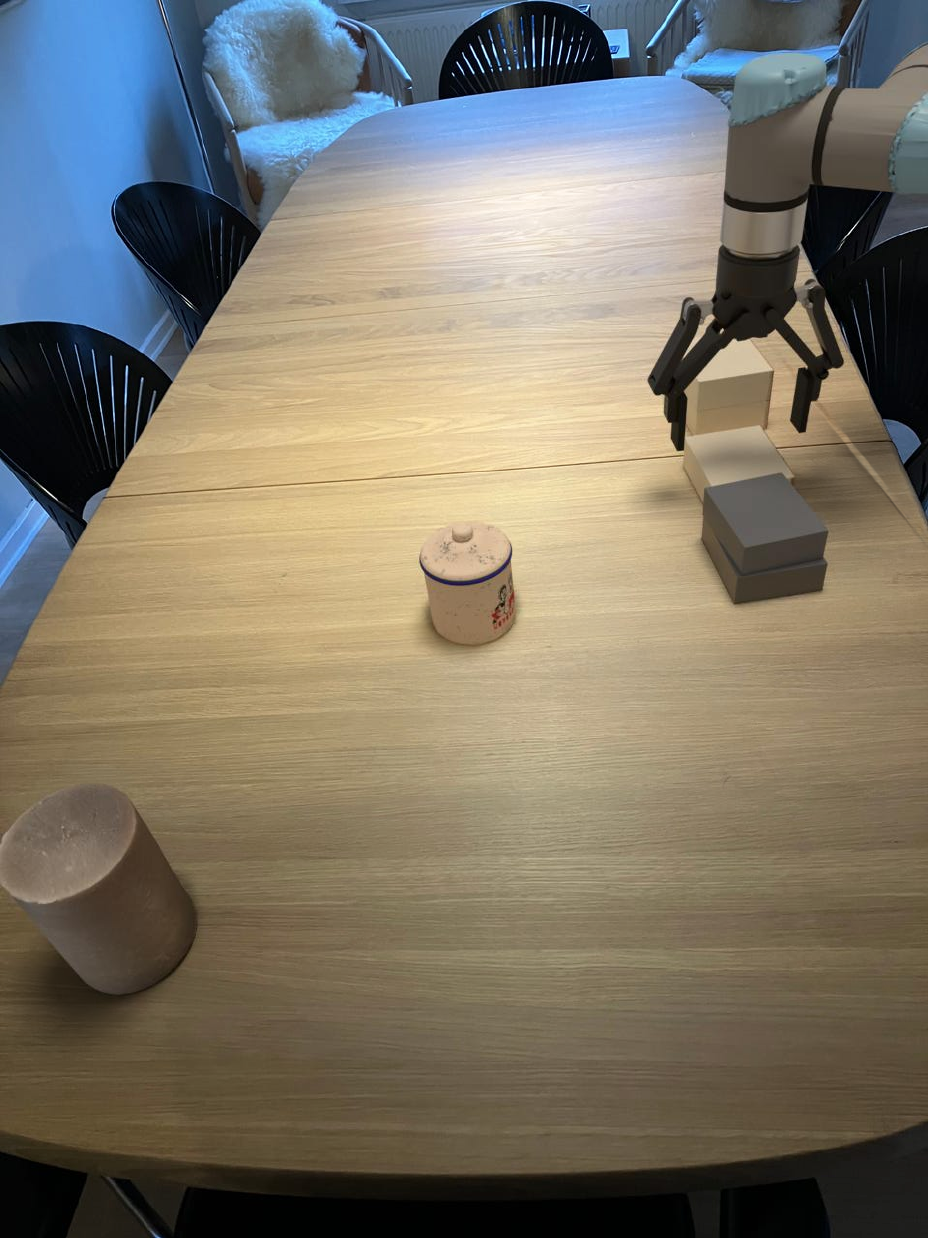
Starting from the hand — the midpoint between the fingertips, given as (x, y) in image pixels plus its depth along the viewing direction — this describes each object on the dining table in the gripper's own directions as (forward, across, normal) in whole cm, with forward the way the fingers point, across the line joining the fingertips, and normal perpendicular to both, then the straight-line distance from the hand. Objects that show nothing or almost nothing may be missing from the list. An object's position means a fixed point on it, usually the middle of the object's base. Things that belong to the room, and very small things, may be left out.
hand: (737, 435), depth 102 cm
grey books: (+7, +2, +14) cm, 16 cm away
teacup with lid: (+7, +32, +14) cm, 36 cm away
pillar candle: (+7, +63, +46) cm, 78 cm away
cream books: (+7, -3, -16) cm, 17 cm away
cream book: (+7, 0, 0) cm, 7 cm away
